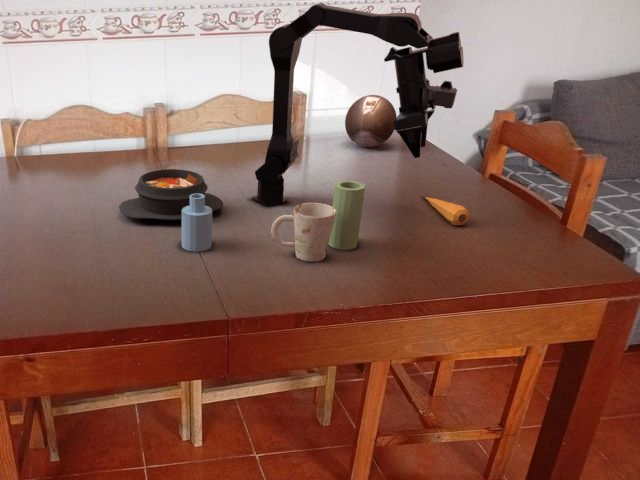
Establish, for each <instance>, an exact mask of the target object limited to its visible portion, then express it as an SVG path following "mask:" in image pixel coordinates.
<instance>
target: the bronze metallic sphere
mask: <svg viewBox="0 0 640 480" xmlns="http://www.w3.org/2000/svg"><path fill="white" fill-rule="evenodd" d="M397 116H398V115H397V112H396V109H395V107H394V105H393V104H392V102H390V101H389V99H387V98H386V97H384V96H381V95H378V94H368V95H365V96H362V97H359V98H358V99H357V100H355V101H354V102H353V103H352V104H351V105H350V107H349V108H348V110H347V112H346V115H345V119H344V127H345V131H346V134H347V136H348V138H349V139H350V140H351V141H352V142H353V143H355V144H356V145H358V146H360V147H363V148H374V147H378V146H381V145H382V144H384V143H385V142H387V141H388V140H389V139H390V138H391V136H392V135H393V133H395V131H396V130H395V127H394V121H395V119H396V118H397Z"/></svg>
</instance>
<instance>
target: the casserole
mask: <svg viewBox="0 0 640 480" xmlns="http://www.w3.org/2000/svg"><path fill="white" fill-rule="evenodd" d="M134 190H135V192H136V193H137V194H138V197H134V198H129V199H127V200H124V201H122V202H121V203H120V204H119V206H118V209H119V211H120V212H121V213H122V214H123V215H125V216H127V217H129V218H132V219H139V220H147V219H148V220H151V219H152V220H160V221H168V222H169V221H171V222H172V221H173V222H174V221H182V209H183V208H184V207H186V206H190V195H191V194H203V195H205V206H208V207H210V208H212V212H214V211H219V210H220V209H222V208H223V207H224V201H223V200H222V199H221V198H220V197H218V196H217V195H215V194H212V193H209V192H207V191H208V185H207V183H206V182H205V179H204V177H203V175H201V174H199V173H198V172H195V171H192V170H187V169H175V168H166V169H158V170H157V169H156V170H151V171H148V172H146V173H143V174H142V175H140V177H139V178H138V181H137V183H136V184H135V186H134Z"/></svg>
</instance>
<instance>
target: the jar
mask: <svg viewBox="0 0 640 480" xmlns="http://www.w3.org/2000/svg"><path fill="white" fill-rule="evenodd" d="M365 191H366V185H365V184H364V183H363V182H360V181H356V180H341V181H340V180H339V181H337V182H335V184H334V191H333V201H332V207H333V208H335V210H336V216H335V220H334V224H333V228H332V232H331V236H330V240H329V244H328V246H329V247H331V248H333V249H336V250H341V251H350V250H354V249H356V248H357V246H358V242H359V235H360V227H361V221H362V213H363V206H364V201H365V200H364V199H365Z"/></svg>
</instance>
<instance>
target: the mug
mask: <svg viewBox="0 0 640 480" xmlns="http://www.w3.org/2000/svg"><path fill="white" fill-rule="evenodd" d="M335 216H336V210H335V208H333V205H332V206H331V205H330V204H325V203H320V202H305V203H300V204H297V205H296V206H295V207H294V208H293V215H292V214H284V215H283V214H282V215H280V216H278V217H277V218H276V219H275V220H274V221H273V222H272V224H271V229H270V230H271V236H272V238H273V240H274V241H275V242H276V243H278V244H280V245H281V246H283V247H294V250H295V252H294V253H295V256H296V258H297V259H298V260H300V261H304V262H311V263H313V262H315V263H316V262H320V261H322V260H324V259H325V258H326V255H327V251H328V247H329V240H330V236H331V232H332V228H333V224H334V220H335ZM284 222H293V228H294V229H293V230H294V242H292V241H284V240H283V239H282V238H281V237H280V235H279V233H278V229H279V227H280V225H281V224H282V223H284Z"/></svg>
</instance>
